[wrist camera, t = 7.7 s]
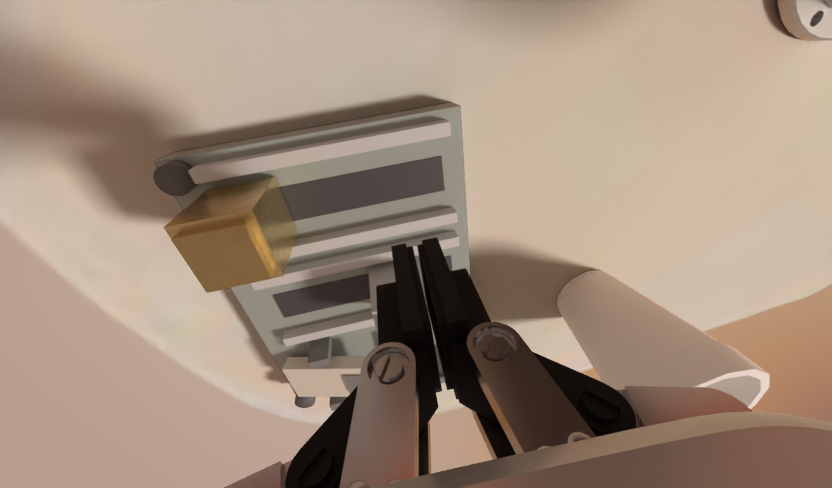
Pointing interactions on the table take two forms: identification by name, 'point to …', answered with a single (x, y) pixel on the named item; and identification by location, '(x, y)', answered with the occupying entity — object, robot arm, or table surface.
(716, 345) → the foam cup
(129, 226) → the table surface
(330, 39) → the table surface
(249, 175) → the panel
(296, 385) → the rocker ivory
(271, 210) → the slider brass
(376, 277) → the slider grey
